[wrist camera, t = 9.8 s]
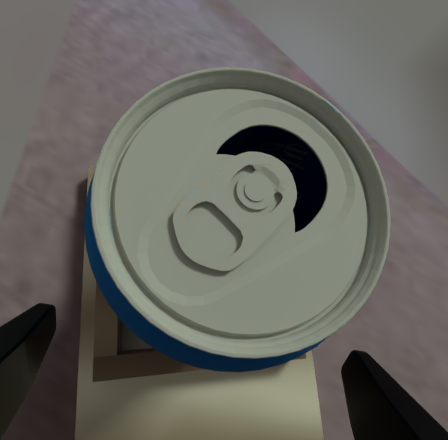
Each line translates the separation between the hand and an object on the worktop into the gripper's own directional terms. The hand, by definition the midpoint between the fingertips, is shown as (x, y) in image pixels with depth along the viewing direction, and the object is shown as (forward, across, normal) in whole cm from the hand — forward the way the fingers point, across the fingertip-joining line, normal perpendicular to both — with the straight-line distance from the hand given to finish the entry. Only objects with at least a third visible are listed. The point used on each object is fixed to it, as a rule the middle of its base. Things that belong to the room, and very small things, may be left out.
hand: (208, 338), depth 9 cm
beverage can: (+7, 0, +3) cm, 8 cm away
